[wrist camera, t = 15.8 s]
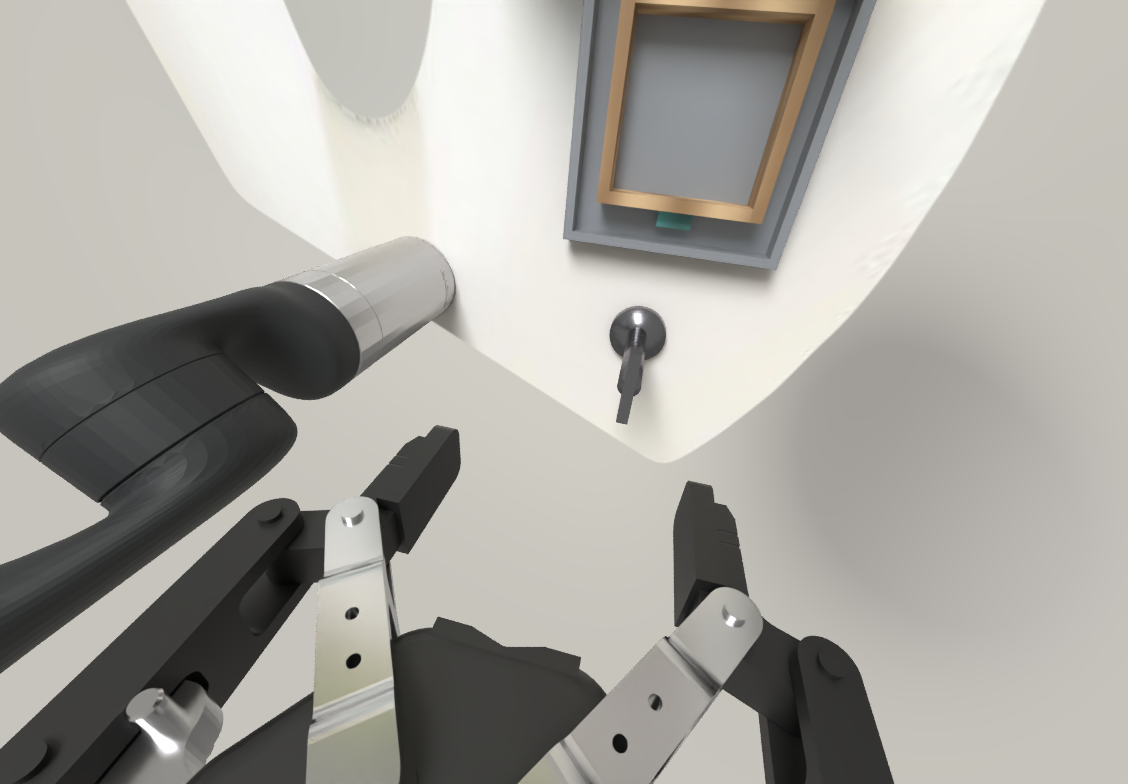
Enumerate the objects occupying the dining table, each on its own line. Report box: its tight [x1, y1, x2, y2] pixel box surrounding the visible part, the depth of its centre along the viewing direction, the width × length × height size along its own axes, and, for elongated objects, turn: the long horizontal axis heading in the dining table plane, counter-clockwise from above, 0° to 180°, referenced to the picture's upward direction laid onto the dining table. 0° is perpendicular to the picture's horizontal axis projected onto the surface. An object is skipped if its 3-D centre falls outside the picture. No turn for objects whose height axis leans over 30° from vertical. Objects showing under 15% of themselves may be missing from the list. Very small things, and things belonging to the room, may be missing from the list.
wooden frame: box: [596, 0, 836, 231], centre depth 33 cm, size 14×16×3 cm
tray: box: [563, 0, 877, 270], centre depth 33 cm, size 20×20×2 cm
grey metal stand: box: [610, 306, 666, 424], centre depth 39 cm, size 6×7×13 cm
